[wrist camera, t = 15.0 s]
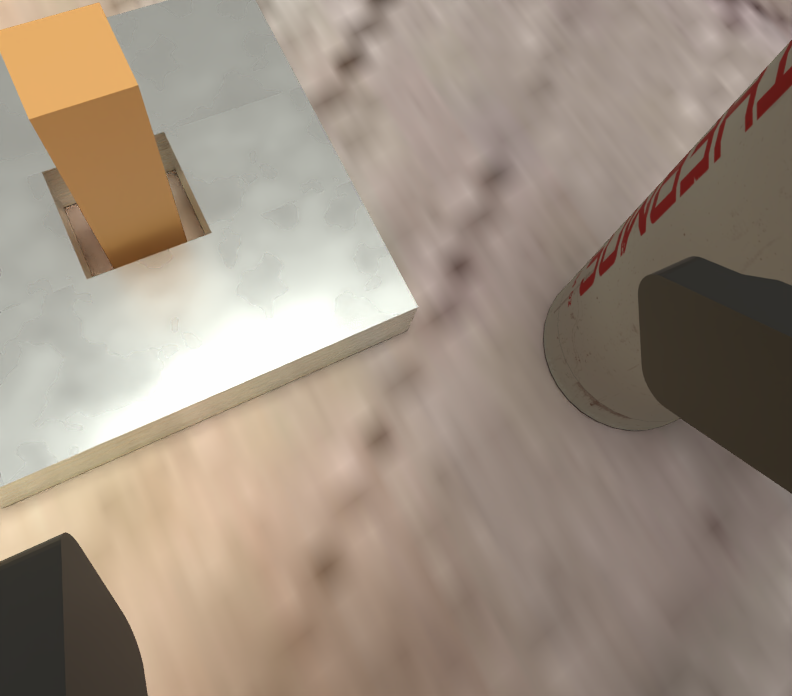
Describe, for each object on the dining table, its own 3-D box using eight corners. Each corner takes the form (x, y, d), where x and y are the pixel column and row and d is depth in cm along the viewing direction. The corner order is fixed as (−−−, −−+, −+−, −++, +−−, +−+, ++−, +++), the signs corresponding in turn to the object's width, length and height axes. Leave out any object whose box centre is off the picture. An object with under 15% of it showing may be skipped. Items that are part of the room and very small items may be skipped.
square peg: (164, 198, 34) (99, 2, 22) (191, 257, 33) (138, 84, 22) (96, 223, 33) (-9, 32, 21) (122, 283, 32) (28, 119, 21)
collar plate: (247, 25, 37) (244, -22, 34) (407, 330, 33) (417, 306, 30) (-130, 138, 33) (-170, 96, 30) (3, 508, 29) (-29, 499, 26)
